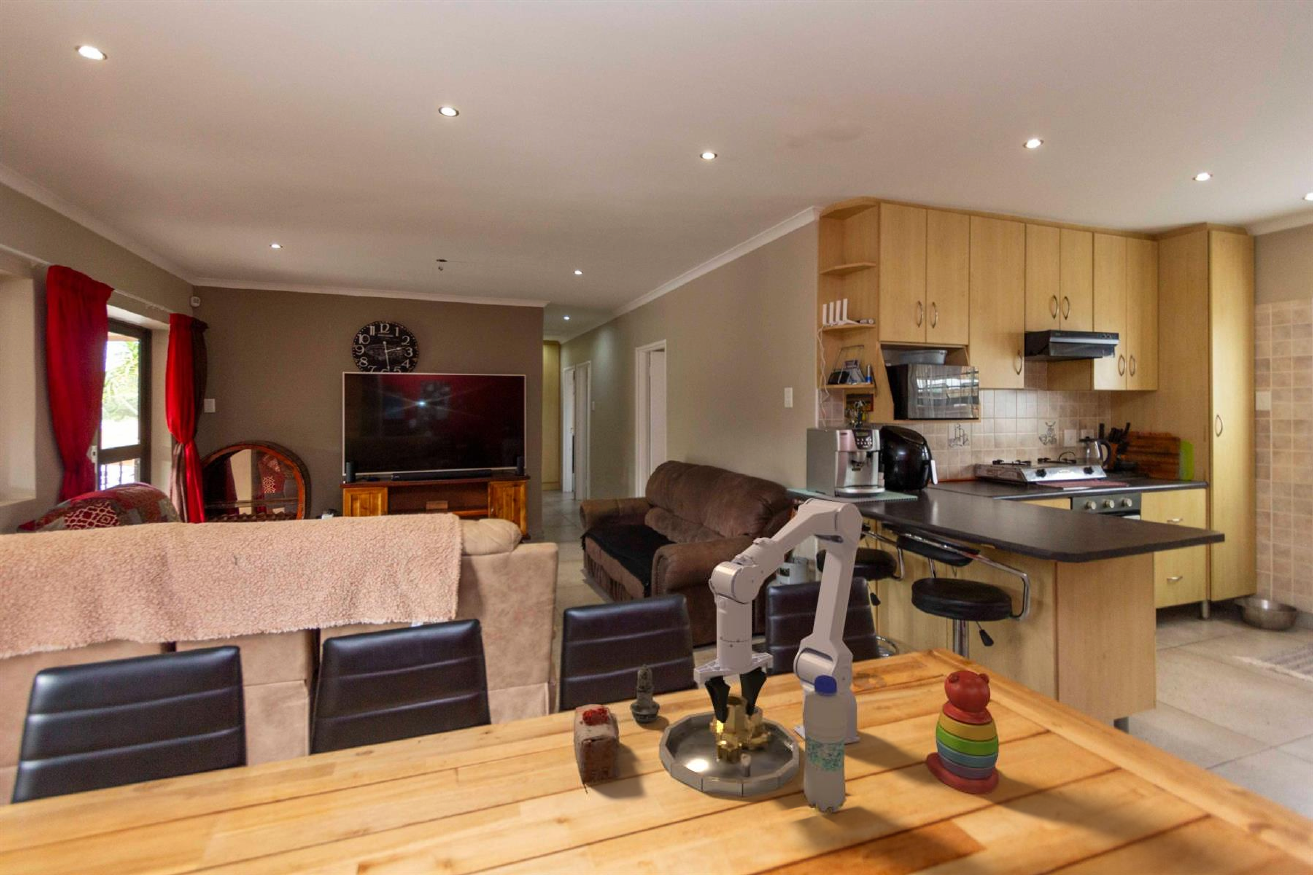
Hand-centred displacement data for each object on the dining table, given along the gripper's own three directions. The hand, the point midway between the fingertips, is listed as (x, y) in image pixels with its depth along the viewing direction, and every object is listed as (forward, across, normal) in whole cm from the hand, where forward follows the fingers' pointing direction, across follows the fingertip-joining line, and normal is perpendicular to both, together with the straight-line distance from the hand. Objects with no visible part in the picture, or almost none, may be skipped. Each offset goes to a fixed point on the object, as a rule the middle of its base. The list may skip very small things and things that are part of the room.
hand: (734, 716), depth 106 cm
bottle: (+10, -8, +13) cm, 18 cm away
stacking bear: (+10, -34, +18) cm, 40 cm away
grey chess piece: (+10, +5, -23) cm, 25 cm away
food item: (+10, +19, -14) cm, 25 cm away
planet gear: (+3, 0, -1) cm, 3 cm away
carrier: (+10, -2, -4) cm, 11 cm away
